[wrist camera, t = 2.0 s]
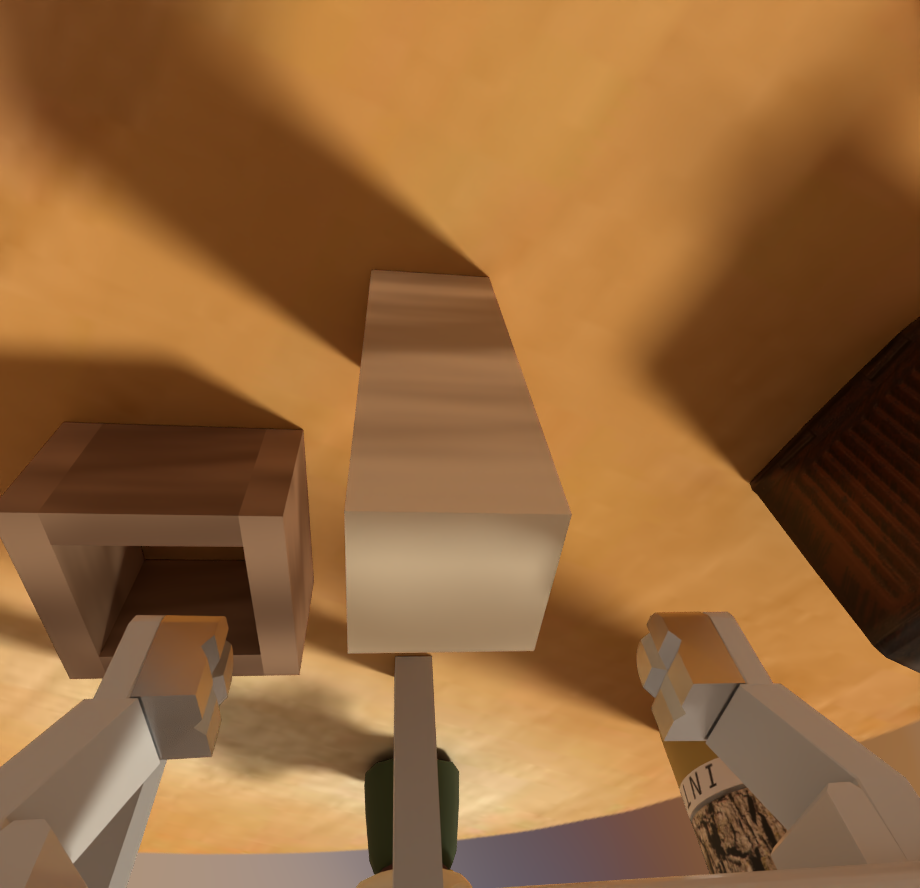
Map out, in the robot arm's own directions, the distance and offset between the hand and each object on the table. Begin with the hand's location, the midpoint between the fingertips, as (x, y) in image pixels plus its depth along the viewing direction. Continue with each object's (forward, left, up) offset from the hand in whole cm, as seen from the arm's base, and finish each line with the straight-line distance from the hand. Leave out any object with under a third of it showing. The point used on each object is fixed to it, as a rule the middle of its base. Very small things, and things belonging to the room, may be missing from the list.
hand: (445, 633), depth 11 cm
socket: (+8, -9, -13) cm, 18 cm away
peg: (-1, 0, -13) cm, 13 cm away
